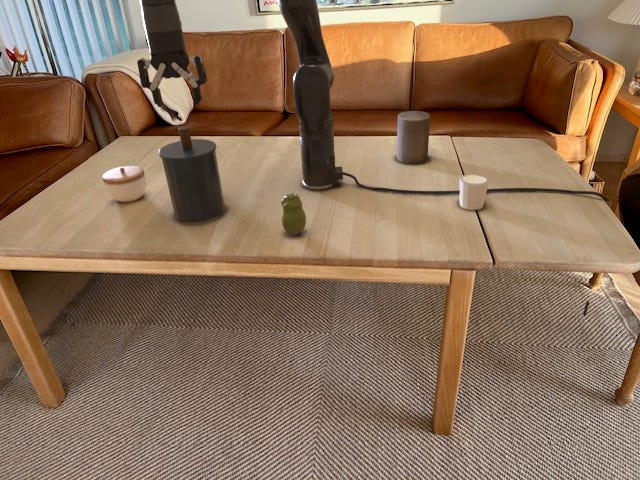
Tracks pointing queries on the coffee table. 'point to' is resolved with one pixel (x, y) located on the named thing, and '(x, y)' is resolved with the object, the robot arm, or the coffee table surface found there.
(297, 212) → the green figurine
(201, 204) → the canister
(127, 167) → the trinket box
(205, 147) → the lid
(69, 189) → the coffee table surface
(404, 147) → the pillar candle
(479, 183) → the white cylinder
